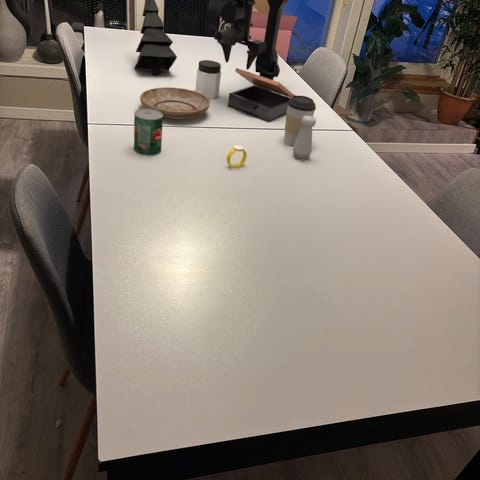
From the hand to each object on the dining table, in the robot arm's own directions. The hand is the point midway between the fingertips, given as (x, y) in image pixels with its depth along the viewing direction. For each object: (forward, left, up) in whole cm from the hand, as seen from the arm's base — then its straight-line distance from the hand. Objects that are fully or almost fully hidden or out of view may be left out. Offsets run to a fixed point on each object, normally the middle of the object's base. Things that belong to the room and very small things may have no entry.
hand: (237, 65), depth 179 cm
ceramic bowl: (+24, -7, -14) cm, 29 cm away
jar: (+1, -11, -14) cm, 18 cm away
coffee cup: (+12, +34, -14) cm, 38 cm away
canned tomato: (+53, +8, -14) cm, 55 cm away
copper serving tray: (-5, +10, -5) cm, 12 cm away
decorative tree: (-4, -44, -14) cm, 47 cm away
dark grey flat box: (-4, +10, -14) cm, 17 cm away
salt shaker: (+20, +41, -14) cm, 48 cm away
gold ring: (+41, +31, -14) cm, 53 cm away
